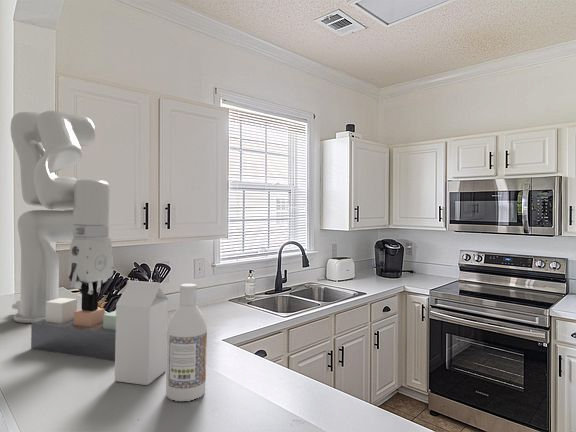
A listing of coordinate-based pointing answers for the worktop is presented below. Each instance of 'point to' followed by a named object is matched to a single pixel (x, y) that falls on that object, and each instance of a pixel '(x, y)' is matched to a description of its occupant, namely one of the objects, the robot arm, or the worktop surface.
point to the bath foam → (186, 349)
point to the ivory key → (60, 310)
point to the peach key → (88, 317)
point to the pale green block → (109, 320)
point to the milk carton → (141, 333)
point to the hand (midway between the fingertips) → (89, 309)
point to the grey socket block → (74, 339)
